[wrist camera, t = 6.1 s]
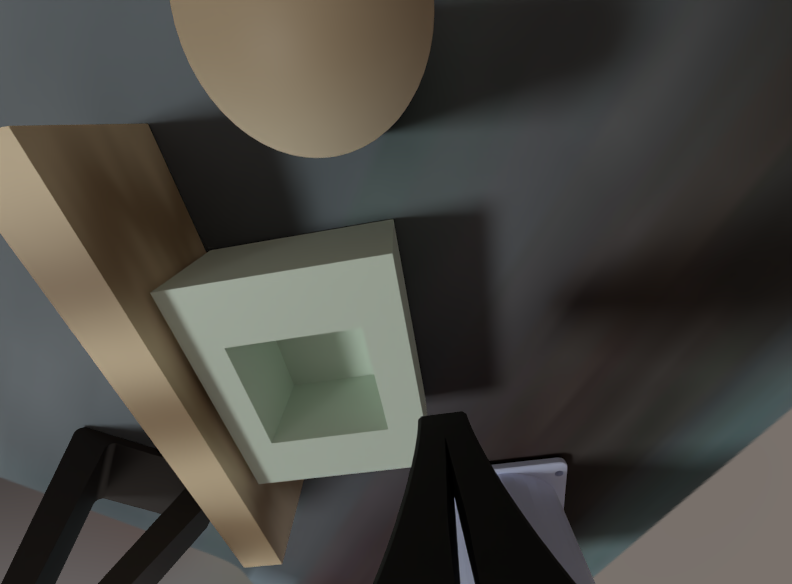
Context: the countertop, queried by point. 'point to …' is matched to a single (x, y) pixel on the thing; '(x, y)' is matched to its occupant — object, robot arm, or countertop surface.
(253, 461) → the socket block
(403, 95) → the dowel
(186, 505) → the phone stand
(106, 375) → the oak wall
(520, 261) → the countertop surface
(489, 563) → the robot arm
